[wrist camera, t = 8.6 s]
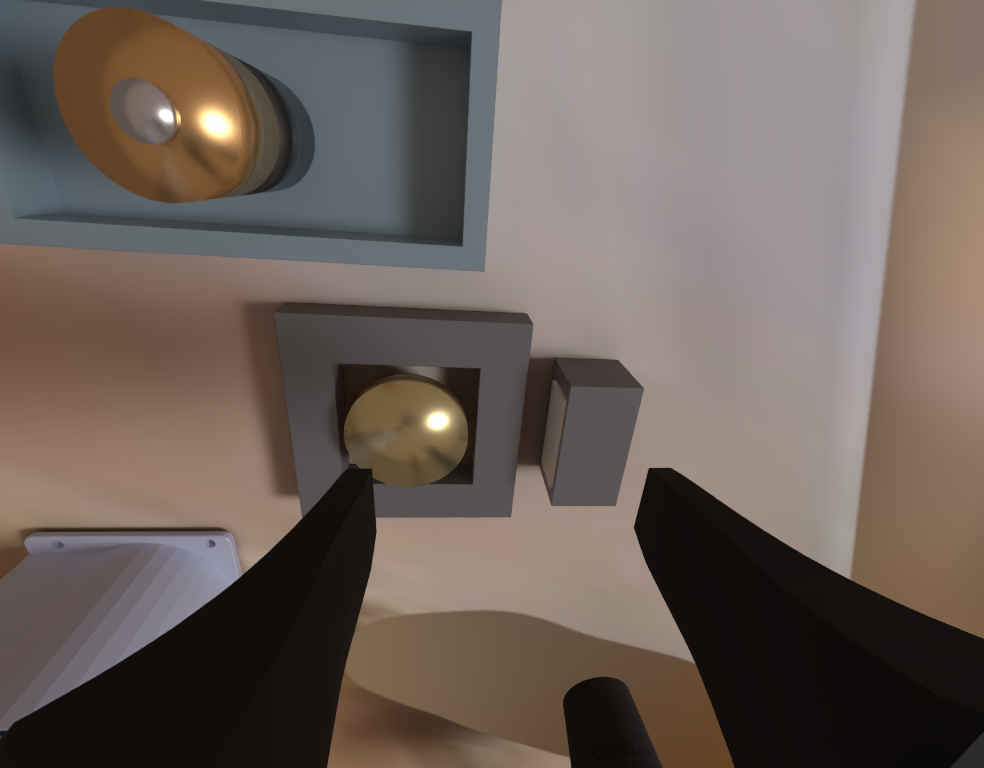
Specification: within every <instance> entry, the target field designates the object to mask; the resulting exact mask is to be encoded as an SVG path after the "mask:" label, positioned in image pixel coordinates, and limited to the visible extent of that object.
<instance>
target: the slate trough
mask: <svg viewBox="0 0 984 768" xmlns="http://www.w3.org/2000/svg"><path fill="white" fill-rule="evenodd" d="M501 5H502V0H0V244H14V245H32V246H49V247H67V248H84V249H101V250H119V251H136V252H153V253H171V254H188V255H206V256H223V257H240V258H258V259H275V260H293V261H310V262H327V263H345V264H362V265H379V266H397V267H414V268H432V269H449V270H466V271H484V268H485V253H486V237H487V222H488V206H489V191H490V175H491V160H492V144H493V129H494V113H495V98H496V82H497V67H498V51H499V36H500V20H501ZM110 7H127V8H132V9H138V10H142V11H145V12H148V13H151V14H154V15H156V16H158V17H160V18H162V19H164V20H166V21H168V22H170V23H172V24H174V25H176V26H178V27H180V28H182V29H183V30H185V31H187V32H189V33H191V34H193V35H195V36H197V37H199V38H200V39H202V40H204V41H206V42H208V43H210V44H212V45H214V46H216V47H217V48H219V49H221V50H223V51H225V52H227V53H229V54H231V55H233V56H235V57H236V58H238V59H240V60H242V61H244V62H246V63H248V64H250V65H252V66H253V67H255V68H257V69H259V70H261V71H263V72H265V73H267V74H269V75H271V76H272V77H274V78H276V79H278V80H279V81H281V82H282V83H283V84H285V85H286V86H287V87H288V88H289V89H290V90H291V91H293V92H294V94H295V95H296V96H297V97H298V98H299V100H300V101H301V103H302V104H303V106H304V107H305V109H306V111H307V113H308V115H309V117H310V120H311V123H312V126H313V130H314V136H315V152H314V157H313V161H312V164H311V166H310V168H309V170H308V172H307V173H306V175H305V176H304V177H303V178H302V179H301V180H300V181H299V182H298V183H297V184H295V185H294V186H292V187H290V188H288V189H284V190H281V191H274V192H266V193H258V194H250V195H243V196H235V197H227V198H219V199H211V200H203V201H196V202H188V203H164V202H158V201H154V200H150V199H147V198H144V197H141V196H139V195H136V194H134V193H132V192H130V191H128V190H126V189H124V188H123V187H121V186H120V185H118V184H116V183H115V182H113V181H112V180H111V179H110V178H108V177H107V176H106V175H104V174H103V173H102V172H101V171H100V170H99V169H98V168H97V167H96V166H95V165H94V164H93V163H92V162H91V161H90V160H89V159H88V158H87V157H86V156H85V154H84V153H83V152H82V150H81V149H80V148H79V146H78V145H77V144H76V142H75V141H74V139H73V137H72V136H71V134H70V132H69V131H68V128H67V126H66V124H65V122H64V120H63V118H62V115H61V112H60V110H59V107H58V103H57V99H56V95H55V89H54V81H53V70H54V61H55V55H56V52H57V49H58V46H59V43H60V41H61V39H62V37H63V36H64V34H65V32H66V31H67V30H68V29H69V27H70V26H71V25H72V24H73V23H74V22H76V21H77V20H78V19H79V18H80V17H82V16H84V15H86V14H88V13H90V12H92V11H95V10H99V9H102V8H110Z"/></svg>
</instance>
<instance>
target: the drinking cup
mask: <svg viewBox="0 0 984 768" xmlns="http://www.w3.org/2000/svg"><path fill="white" fill-rule="evenodd" d="M563 707H564V714H565V722H566V729H567V737H568V745H569V753H570V761H571V768H663V767H662V765H661V763H660V760H659V758H658V756H657V754H656V751H655V749H654V746H653V744H652V742H651V740H650V737H649V735H648V733H647V731H646V728H645V726H644V723H643V721H642V719H641V717H640V715H639V712H638V710H637V707H636V705H635V703H634V701H633V698H632V696H631V694H630V691H629V689H628V687H627V686H626V685H625V683H623V682H622V681H620V680H618V679H615V678H610V677H598V678H592V679H588V680H585V681H582V682H580V683H578V684H576V685H575V686H574V687H572V688H571V689H570V690H569V691H568V692H567V693H566V695H565V697H564V701H563Z"/></svg>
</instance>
